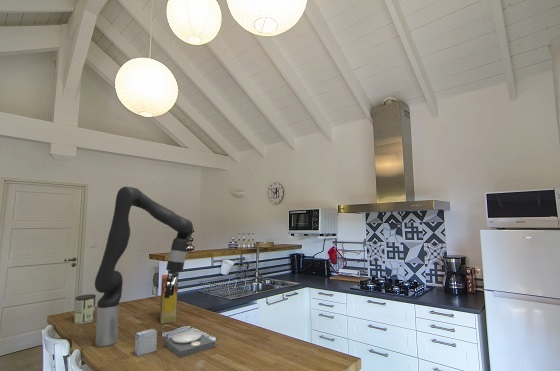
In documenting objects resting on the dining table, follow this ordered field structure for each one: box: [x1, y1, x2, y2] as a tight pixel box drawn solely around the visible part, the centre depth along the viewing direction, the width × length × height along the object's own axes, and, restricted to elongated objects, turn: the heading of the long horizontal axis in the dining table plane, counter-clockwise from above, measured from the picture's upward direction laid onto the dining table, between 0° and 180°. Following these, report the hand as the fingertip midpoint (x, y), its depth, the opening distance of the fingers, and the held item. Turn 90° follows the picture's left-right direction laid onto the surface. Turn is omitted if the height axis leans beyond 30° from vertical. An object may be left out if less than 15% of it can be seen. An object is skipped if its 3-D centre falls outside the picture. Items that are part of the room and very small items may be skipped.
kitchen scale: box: [163, 330, 216, 358], centre depth 143 cm, size 18×16×4 cm
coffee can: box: [73, 293, 97, 325], centre depth 183 cm, size 10×10×14 cm
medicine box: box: [134, 328, 158, 357], centre depth 138 cm, size 8×4×9 cm, turn 134°
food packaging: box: [159, 274, 179, 325], centre depth 185 cm, size 13×9×25 cm
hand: (168, 296), depth 143 cm, fingers open, 8 cm apart
